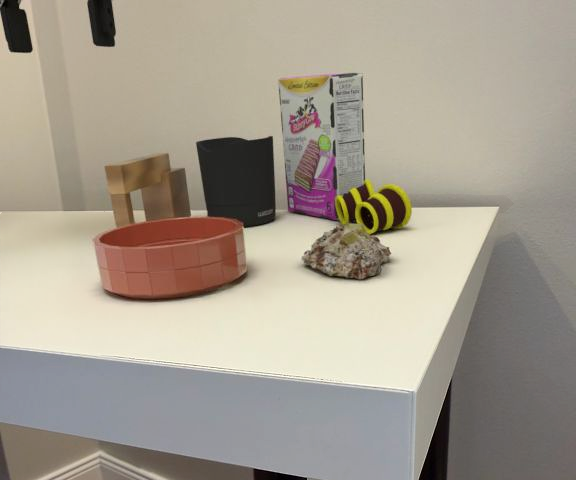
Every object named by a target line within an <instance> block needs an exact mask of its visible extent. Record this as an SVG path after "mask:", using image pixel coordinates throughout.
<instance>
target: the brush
mask: <svg viewBox="0 0 576 480" xmlns="http://www.w3.org/2000/svg"><path fill="white" fill-rule="evenodd" d="M104 171H105V172H104V173H105V178H106V184H107V189H108V194H109V195H110V200H111V201H110V202H111V206H112V213H113V217H114V218H113V219H114V223H115V228H118V227H121V226H125V225H130V224H135V223H136V221H135V217H134V210H133V208H134V207H133V202H132V197H131V193H132V192H135V191H138V190H140V193H141V199H142V206H143V212H144V219H145V222H146V221H152V220H160V219H168V218H180V217H192V211H191V204H190V197H189V190H188V181H187V174H186V168H185V167H172V166H171V161H170V154H169V153H168V152H163V153H162V152H161V153H152V154H151V153H150V154H147V155H143V156H139V157H135V158H132V159H127V160H123V161H119V162H115V163H111V164H108V165H104Z"/></svg>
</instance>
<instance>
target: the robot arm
mask: <svg viewBox="0 0 576 480" xmlns="http://www.w3.org/2000/svg"><path fill="white" fill-rule="evenodd" d="M22 1H23V0H0V18H1V23H2V27H3V28H2V29H3V32H4V38H5V41H6V42H7V48H8V50H9V52H11V53H17V54H31V53H33V50H34V49H33V42H32V37H31V31H30V27H29V20H28V16H27V12H26V10H25V9H24V8H20V5H21V3H22ZM113 1H114V0H87V3H86V4H87V5H86V6H87V11H88V18H89V26H90V31H91V38H92V44H93V45H94V46H96V47H103V48H114V47H115V46H116V40H115V37H116V35H117V28H116V23H115V16H114V14H115V13H114V7H113Z"/></svg>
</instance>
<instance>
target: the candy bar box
mask: <svg viewBox="0 0 576 480" xmlns="http://www.w3.org/2000/svg"><path fill="white" fill-rule="evenodd" d="M363 77H364V74H363V72H344V73H343V72H342V73H327V74H311V75H299V76H291V77H282V78H278V79H277V82H278V93H279V94H278V95H279V108H280V121H281V123H280V124H281V135H282V144H283V160H284V170H285V171H284V174H285V185H286V200H287V202H286V203H287V211H288V212H292V213H298V214H301V215H306V216H307V215H308V216H312V217H317V218H318V217H319V218H323V219H328V220H334V221H340V219H339V217H338V214H337V210H336V206H335V197H336V196H338V195H340V196H343V194H344V193H346V194H347V193H348V191H349V190H351V189H352V188H358V187H360V186H361V185H363V184H364V181H365V180H366V165H365V164H366V160H365V158H366V157H365V121H364V119H365V117H364V84H363V83H364V80H363V79H364V78H363Z"/></svg>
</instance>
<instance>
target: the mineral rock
mask: <svg viewBox="0 0 576 480" xmlns="http://www.w3.org/2000/svg"><path fill="white" fill-rule="evenodd" d="M310 246H311V247H310V248H311V249H307V250H305V251H304V252H303V255H302V256H301V261H303V264H305V265H307V266H310V267H311V268H312V269H314V270H320V271H321V273H323V274H327V276H330V277H331V276H334V277H335V276H336V277H345V278H347V279H357V280H361V281H362V280H364V279H366V278H367V277H372V276H376V275H378V274H380V272H381V270H382V267H381V265H382V264H385V263H387V262H388V260H389V258H390V256H391V254H392V252H391V250H390V246H389V247H388V246H385V245H384V244H382V243H381V240H380V239H379V237H378V236H373V235H371V234H369V233H367V232H366V230H365V228H364V227H363V226H362V224H358V223H351V222H349V223H348V224H347V225H342V224H339V225H338V226H337V225H336V226H335V227H333V229H330V230H328V231H325V232H323V234H322V235H321V236H320V237H318V238H316V240H315V241H314V242H313V243H312V244H311V245H310Z"/></svg>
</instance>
